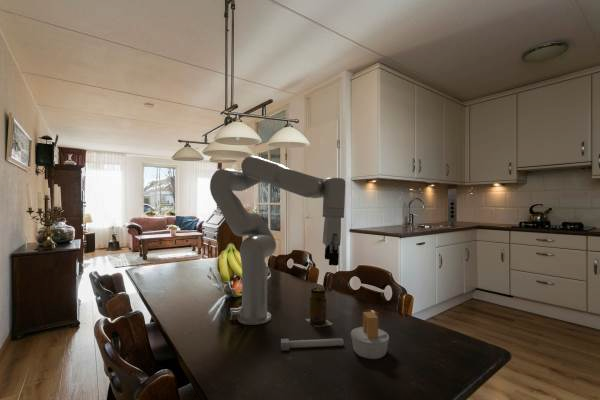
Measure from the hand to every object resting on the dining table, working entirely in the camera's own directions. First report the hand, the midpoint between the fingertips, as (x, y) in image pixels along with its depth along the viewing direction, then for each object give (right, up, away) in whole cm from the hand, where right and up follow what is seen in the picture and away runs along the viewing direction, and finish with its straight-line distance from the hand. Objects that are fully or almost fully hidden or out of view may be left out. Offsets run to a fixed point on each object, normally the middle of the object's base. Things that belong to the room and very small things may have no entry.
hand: (331, 262), depth 105 cm
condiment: (-4, -24, +7) cm, 25 cm away
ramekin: (+10, -24, -15) cm, 30 cm away
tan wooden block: (+10, -18, -15) cm, 26 cm away
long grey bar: (-6, -24, -12) cm, 27 cm away
